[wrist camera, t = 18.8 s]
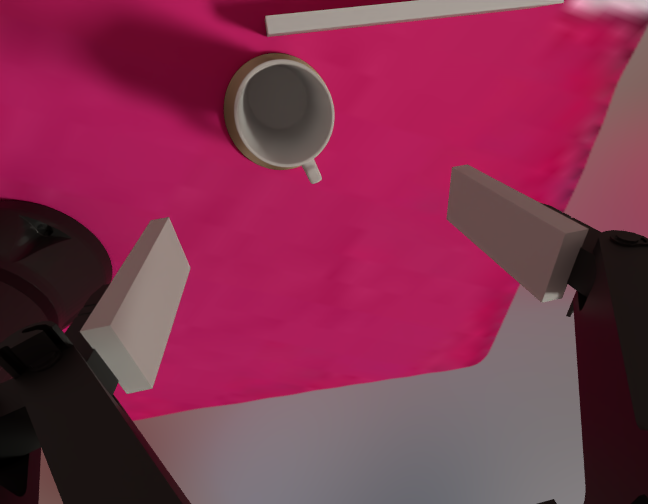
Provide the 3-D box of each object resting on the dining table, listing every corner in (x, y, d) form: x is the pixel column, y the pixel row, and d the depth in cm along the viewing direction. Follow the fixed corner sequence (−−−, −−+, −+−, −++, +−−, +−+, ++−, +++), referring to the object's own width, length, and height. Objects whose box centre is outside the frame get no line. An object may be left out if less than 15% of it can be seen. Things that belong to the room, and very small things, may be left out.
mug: (228, 77, 30) (212, 89, 20) (291, 43, 29) (309, 38, 19) (278, 171, 35) (286, 218, 25) (333, 144, 35) (363, 180, 25)
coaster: (238, 175, 35) (238, 176, 35) (210, 60, 30) (209, 60, 29) (335, 160, 36) (336, 162, 36) (327, 47, 31) (328, 46, 30)
